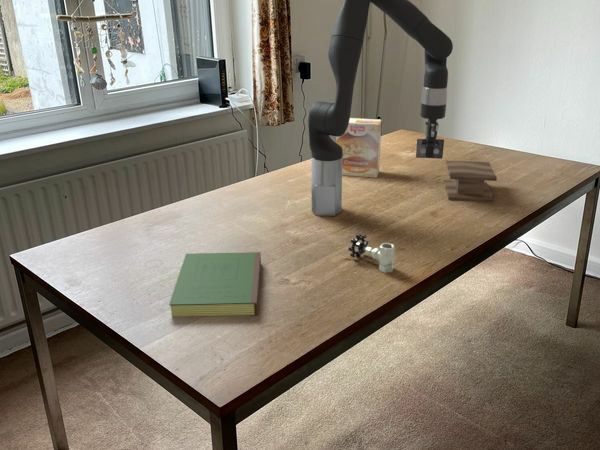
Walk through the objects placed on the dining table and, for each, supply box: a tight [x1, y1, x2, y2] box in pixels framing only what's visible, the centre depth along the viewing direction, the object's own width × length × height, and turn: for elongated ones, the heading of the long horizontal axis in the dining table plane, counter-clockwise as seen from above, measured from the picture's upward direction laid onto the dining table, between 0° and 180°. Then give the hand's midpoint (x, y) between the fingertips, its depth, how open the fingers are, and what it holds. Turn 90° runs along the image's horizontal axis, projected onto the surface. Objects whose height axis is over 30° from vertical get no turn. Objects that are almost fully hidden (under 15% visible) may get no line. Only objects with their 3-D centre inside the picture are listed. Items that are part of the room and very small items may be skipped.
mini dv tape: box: [415, 137, 445, 160], centre depth 189 cm, size 8×2×6 cm, turn 82°
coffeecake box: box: [335, 117, 383, 178], centre depth 212 cm, size 15×7×20 cm, turn 76°
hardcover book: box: [168, 251, 262, 318], centre depth 141 cm, size 25×19×4 cm
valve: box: [347, 233, 396, 274], centre depth 150 cm, size 7×7×12 cm
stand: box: [443, 160, 498, 203], centre depth 196 cm, size 16×14×8 cm
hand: (429, 156), depth 190 cm, fingers closed on mini dv tape, 1 cm apart
